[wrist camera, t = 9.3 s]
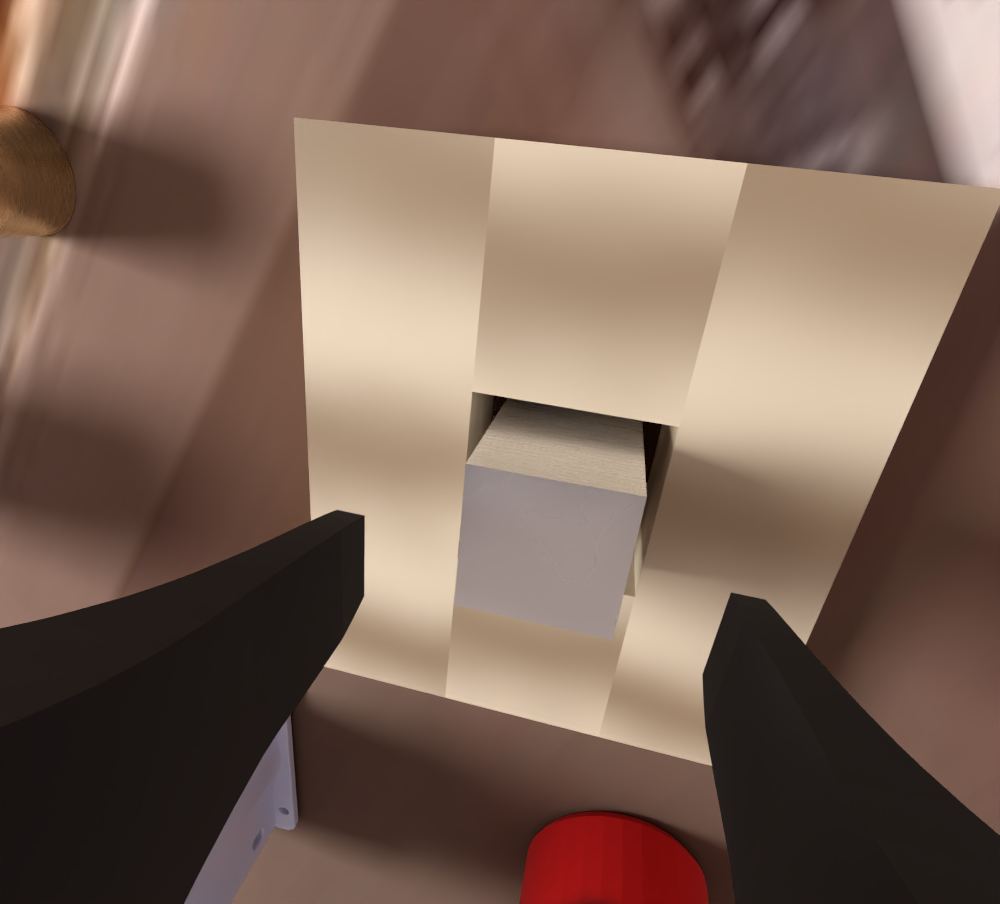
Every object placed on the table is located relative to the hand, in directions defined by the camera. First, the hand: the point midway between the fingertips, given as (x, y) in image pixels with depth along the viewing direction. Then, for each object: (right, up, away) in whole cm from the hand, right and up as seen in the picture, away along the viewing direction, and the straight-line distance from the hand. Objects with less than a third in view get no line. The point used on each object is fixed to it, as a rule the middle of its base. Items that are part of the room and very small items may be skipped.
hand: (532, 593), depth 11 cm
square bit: (+1, +3, +6) cm, 7 cm away
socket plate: (+1, +3, +6) cm, 7 cm away
